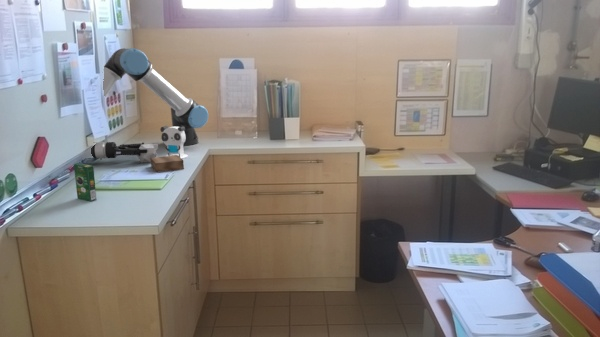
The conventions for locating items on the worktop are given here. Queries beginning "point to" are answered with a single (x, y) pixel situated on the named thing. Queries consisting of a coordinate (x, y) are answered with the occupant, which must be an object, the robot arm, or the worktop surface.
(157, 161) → the plinth
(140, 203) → the worktop surface
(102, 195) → the worktop surface
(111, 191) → the worktop surface
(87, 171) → the coffee box
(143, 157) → the die
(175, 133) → the panda figurine
